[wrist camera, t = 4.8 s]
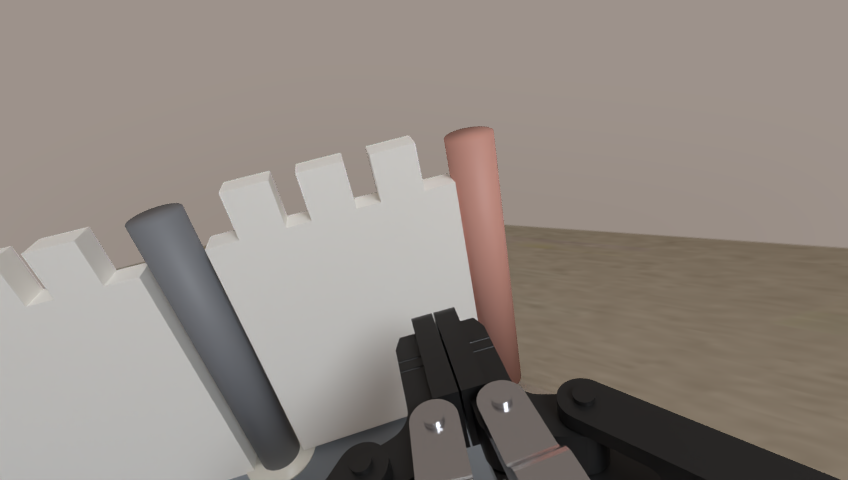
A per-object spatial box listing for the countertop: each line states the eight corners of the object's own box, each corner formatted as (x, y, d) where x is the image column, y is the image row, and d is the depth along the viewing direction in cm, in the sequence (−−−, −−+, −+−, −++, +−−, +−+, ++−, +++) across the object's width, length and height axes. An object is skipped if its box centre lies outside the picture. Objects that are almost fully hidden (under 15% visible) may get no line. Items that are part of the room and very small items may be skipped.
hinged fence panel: (303, 457, 22) (178, 206, 16) (304, 425, 24) (191, 187, 17) (527, 383, 24) (500, 124, 17) (512, 357, 26) (482, 113, 19)
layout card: (-91, 711, 17) (-101, 706, 17) (190, 305, 39) (188, 300, 39) (577, 632, 15) (576, 625, 15) (478, 255, 37) (477, 250, 37)
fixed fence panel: (1, 555, 21) (-273, 331, 15) (25, 514, 23) (-210, 296, 16) (299, 465, 23) (174, 219, 16) (301, 432, 24) (188, 198, 18)
